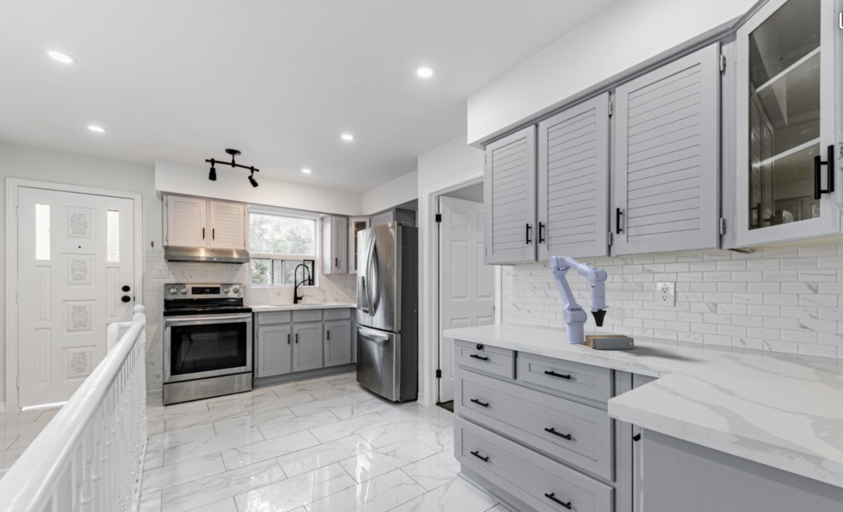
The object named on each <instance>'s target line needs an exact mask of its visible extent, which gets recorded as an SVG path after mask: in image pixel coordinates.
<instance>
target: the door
mask: <svg viewBox="0 0 843 512" xmlns="http://www.w3.org/2000/svg"><path fill="white" fill-rule="evenodd" d="M593 342H594V343H595V344H594V348H595V349H594V350H615V349H616V350H617V349H618V350H629V349H630V350H631V349H633V350H635V339H634V337H631V338H595V339H593Z"/></svg>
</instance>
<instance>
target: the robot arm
mask: <svg viewBox="0 0 843 512" xmlns="http://www.w3.org/2000/svg"><path fill="white" fill-rule="evenodd" d="M548 266H549V269H550V271H551V273H552V276H553V280H554V282H555V284H556V287H557V290H558V292H559V295H560V297H561V299H562V302H563V305H564V307H563V309H562V310H561V311H562V315H563V320H564V322H565V324H566V329H565V330H566V339H564V341H565V342H567V343H568V344H570V345H586V340H585V329H584V328H585V327H584V325H585V323H586V322H587V320H588V314H587V312H586V311H585V310H584V309H583V308H584V307H583V306H581V305H580V304H578V303H577V302H576V299H575V296H574V295H573V292H572V290H571V289H572V288H570V285H569V283H568V280H567V278H566V275H567V274H568V272H569V271H570V269H571V268H572V269H574V270H577V273H578V274H579V275H581V276H583V277H585V278H587V280H588V284H589V286H590V296H591V297H590V301H591V304H590V305H591V306H590V308H591V310H590V313H591V314H592V316H593V319H594V322H595V326H596V327H597V328H602V327H603V325H604V320H605V316H606V315H607V311H608V310H606V309H608V308H610V307H609V306H608V305H606V287H605V286H606V285H605V283H606V281H607V279H608V274H607V271H606V270H604V269H603V268H599V269H598V268H597V267H596V266H592V265H590V263H588V262H583V263H581V262H579V261H577V260H575V259H574V258H573V257H572V256H569V255H564V256H563V255H561V256H560V255H559V256H556V255H552V256H551V257H550V259H549V262H548Z"/></svg>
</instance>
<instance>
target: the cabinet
mask: <svg viewBox="0 0 843 512" xmlns="http://www.w3.org/2000/svg"><path fill="white" fill-rule="evenodd" d="M595 338H632V337H631V336H627V335H624V334H597V335H596V334H590V335H589V334H584V341H585V342H586V344H585V346H586V347H588V348H591V349H593V350H596V349H595V348H594V344H595V343H594V342H593V339H595Z"/></svg>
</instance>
